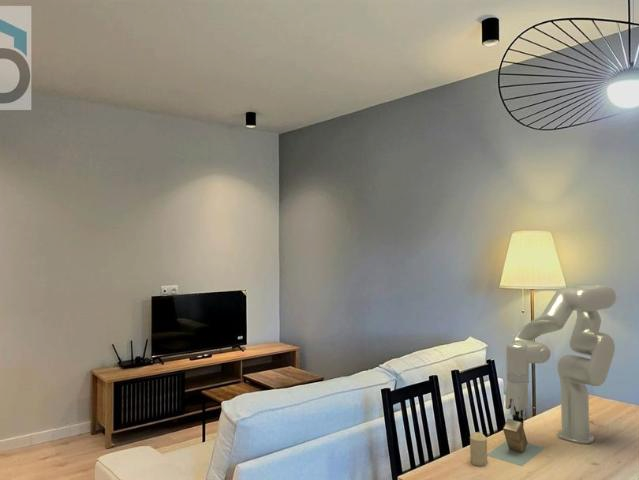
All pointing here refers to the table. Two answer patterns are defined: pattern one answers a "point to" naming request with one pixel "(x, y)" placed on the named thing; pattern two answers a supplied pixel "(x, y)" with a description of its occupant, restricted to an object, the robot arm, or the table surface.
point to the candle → (478, 449)
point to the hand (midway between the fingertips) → (518, 428)
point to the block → (515, 435)
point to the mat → (515, 453)
